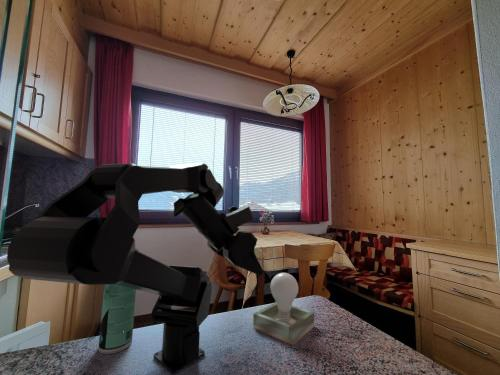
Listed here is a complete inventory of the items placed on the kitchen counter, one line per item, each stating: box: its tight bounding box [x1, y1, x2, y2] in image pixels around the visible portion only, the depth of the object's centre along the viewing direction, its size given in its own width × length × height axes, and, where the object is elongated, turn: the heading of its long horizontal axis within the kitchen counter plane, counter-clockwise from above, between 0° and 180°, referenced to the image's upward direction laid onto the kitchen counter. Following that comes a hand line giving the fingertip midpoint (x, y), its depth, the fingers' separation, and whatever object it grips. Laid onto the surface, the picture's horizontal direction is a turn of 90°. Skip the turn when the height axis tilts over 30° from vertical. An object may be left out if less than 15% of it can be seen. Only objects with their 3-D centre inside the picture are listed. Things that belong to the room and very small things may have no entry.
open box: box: [252, 301, 315, 346], centre depth 50 cm, size 10×10×3 cm
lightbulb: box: [269, 272, 299, 324], centre depth 50 cm, size 6×6×11 cm
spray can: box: [98, 247, 139, 355], centre depth 43 cm, size 6×6×20 cm
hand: (252, 268), depth 49 cm, fingers open, 9 cm apart
